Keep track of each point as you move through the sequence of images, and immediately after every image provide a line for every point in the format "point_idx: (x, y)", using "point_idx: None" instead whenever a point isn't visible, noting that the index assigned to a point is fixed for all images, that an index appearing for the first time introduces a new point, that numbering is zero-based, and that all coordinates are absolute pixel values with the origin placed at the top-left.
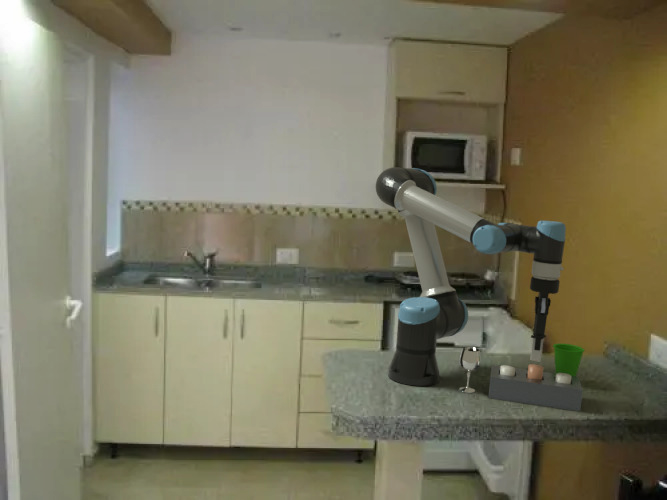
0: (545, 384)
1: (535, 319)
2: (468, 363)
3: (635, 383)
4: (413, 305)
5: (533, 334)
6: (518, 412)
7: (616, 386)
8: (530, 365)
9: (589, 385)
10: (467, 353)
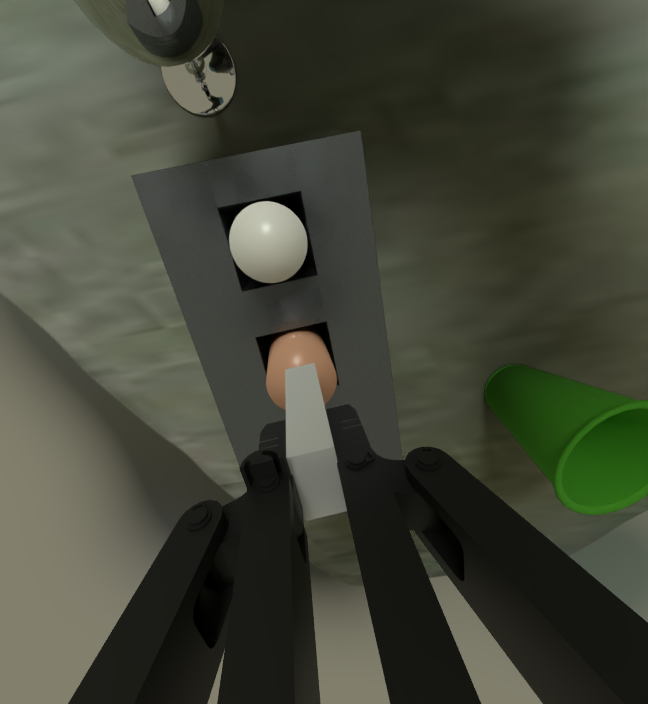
0: (223, 415)
1: (411, 636)
2: None
3: (576, 520)
4: None
5: (344, 459)
6: (106, 326)
7: (533, 493)
8: (299, 357)
9: (511, 444)
10: None
